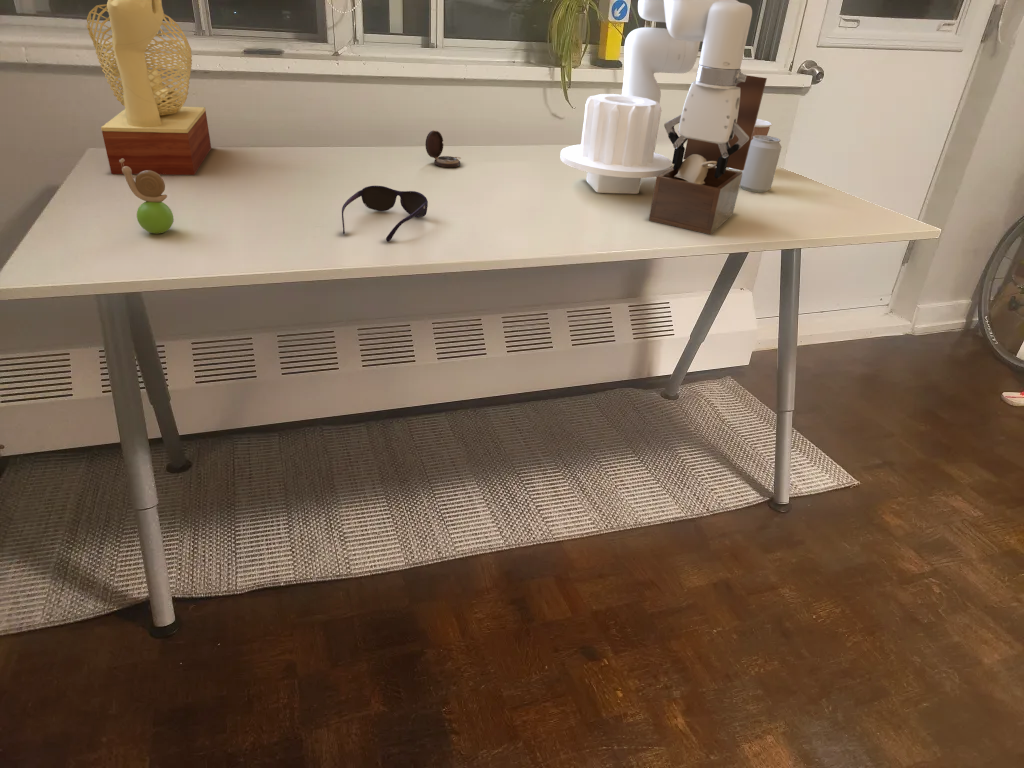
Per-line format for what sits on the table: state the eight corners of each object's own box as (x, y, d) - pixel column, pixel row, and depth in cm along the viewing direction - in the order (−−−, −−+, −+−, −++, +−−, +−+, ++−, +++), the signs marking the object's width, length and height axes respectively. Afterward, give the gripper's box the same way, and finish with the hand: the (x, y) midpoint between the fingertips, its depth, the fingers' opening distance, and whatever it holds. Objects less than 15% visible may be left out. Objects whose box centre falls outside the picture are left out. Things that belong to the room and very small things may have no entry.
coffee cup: (745, 163, 192) (756, 117, 186) (768, 173, 184) (780, 125, 178) (713, 163, 189) (723, 116, 183) (734, 174, 181) (746, 125, 175)
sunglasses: (432, 217, 135) (433, 191, 132) (403, 244, 122) (403, 216, 119) (366, 208, 137) (365, 182, 135) (330, 233, 124) (328, 205, 121)
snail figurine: (141, 226, 121) (126, 154, 114) (180, 227, 121) (167, 156, 115) (129, 237, 116) (112, 163, 110) (169, 238, 117) (156, 165, 110)
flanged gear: (682, 204, 154) (700, 113, 144) (572, 202, 150) (582, 108, 140) (645, 173, 175) (659, 92, 165) (547, 171, 171) (555, 87, 161)
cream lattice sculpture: (195, 177, 147) (163, -16, 129) (100, 176, 143) (54, -23, 125) (213, 148, 168) (188, -22, 149) (130, 146, 164) (94, -28, 146)
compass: (450, 169, 166) (451, 137, 162) (423, 163, 169) (423, 131, 165) (470, 163, 172) (471, 132, 168) (443, 157, 175) (444, 126, 171)
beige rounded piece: (688, 175, 146) (694, 149, 143) (715, 188, 139) (721, 161, 137) (673, 176, 144) (678, 150, 141) (699, 189, 138) (705, 162, 135)
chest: (710, 234, 138) (720, 189, 133) (648, 220, 143) (656, 176, 138) (732, 214, 151) (742, 172, 146) (675, 201, 156) (683, 160, 151)
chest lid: (766, 78, 137) (772, 78, 142) (702, 69, 143) (710, 69, 147) (742, 170, 145) (749, 167, 150) (683, 158, 151) (691, 156, 155)
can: (771, 195, 166) (785, 142, 160) (739, 191, 167) (751, 138, 161) (768, 186, 172) (781, 136, 166) (737, 182, 173) (749, 132, 167)
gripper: (768, 82, 130) (745, 177, 140) (678, 68, 137) (662, 160, 146) (759, 86, 125) (735, 185, 134) (665, 72, 132) (649, 167, 141)
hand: (697, 172), depth 140 cm, fingers closed on beige rounded piece, 7 cm apart
